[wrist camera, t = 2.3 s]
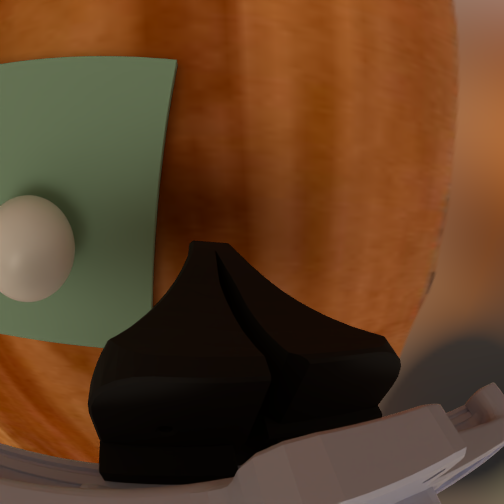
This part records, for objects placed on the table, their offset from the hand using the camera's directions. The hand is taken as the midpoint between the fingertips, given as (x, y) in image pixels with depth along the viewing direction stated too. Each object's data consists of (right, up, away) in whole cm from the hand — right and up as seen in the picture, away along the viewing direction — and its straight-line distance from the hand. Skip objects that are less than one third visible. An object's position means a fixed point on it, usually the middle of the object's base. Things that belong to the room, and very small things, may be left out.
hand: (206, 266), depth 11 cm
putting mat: (-13, +3, +1) cm, 13 cm away
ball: (-7, +1, -1) cm, 7 cm away
